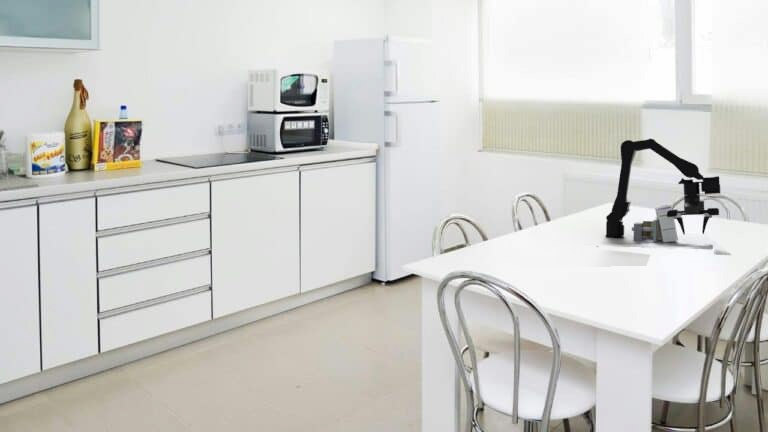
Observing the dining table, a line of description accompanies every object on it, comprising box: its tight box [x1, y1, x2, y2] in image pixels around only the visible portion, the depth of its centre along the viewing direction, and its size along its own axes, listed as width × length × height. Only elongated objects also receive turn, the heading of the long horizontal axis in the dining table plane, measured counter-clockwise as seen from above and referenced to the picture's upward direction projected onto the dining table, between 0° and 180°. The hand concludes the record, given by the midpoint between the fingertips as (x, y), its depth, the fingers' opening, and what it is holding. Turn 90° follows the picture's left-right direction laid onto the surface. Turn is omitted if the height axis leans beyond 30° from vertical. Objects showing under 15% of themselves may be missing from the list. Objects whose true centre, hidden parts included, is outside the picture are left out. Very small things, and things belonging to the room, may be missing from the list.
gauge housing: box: [633, 220, 661, 242], centre depth 274 cm, size 10×11×8 cm
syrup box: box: [654, 204, 679, 243], centre depth 270 cm, size 6×6×14 cm
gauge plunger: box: [631, 216, 658, 243], centre depth 275 cm, size 10×13×9 cm
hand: (693, 234), depth 265 cm, fingers open, 6 cm apart
